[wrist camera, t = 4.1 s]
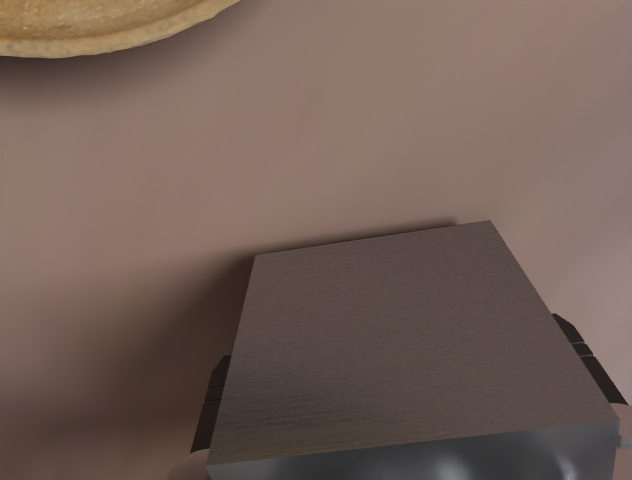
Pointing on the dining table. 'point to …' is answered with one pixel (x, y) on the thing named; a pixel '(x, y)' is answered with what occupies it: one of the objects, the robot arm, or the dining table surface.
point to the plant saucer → (95, 24)
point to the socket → (406, 369)
